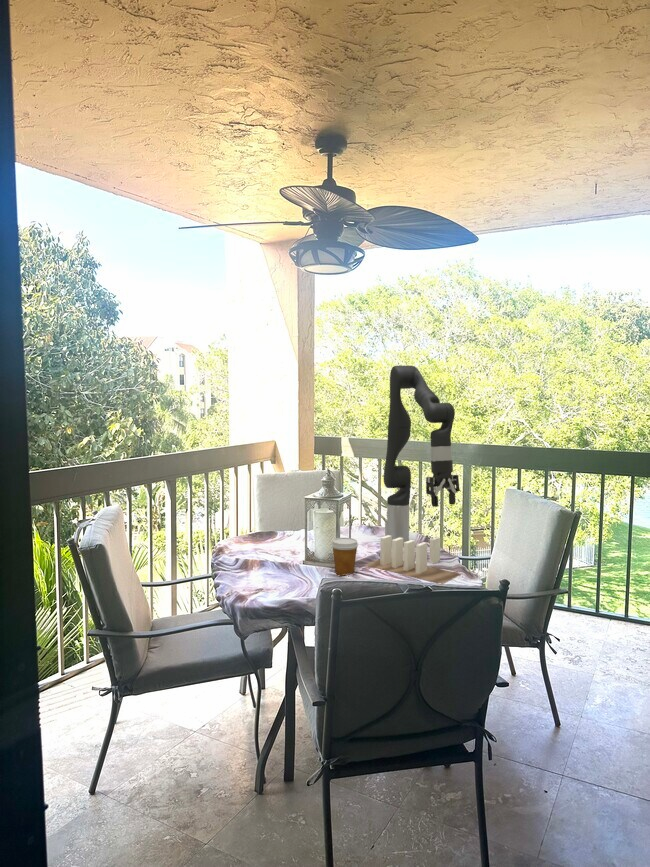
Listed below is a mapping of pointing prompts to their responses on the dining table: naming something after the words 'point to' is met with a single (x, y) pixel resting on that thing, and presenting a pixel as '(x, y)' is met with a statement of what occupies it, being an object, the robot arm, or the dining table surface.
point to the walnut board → (429, 575)
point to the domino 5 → (434, 550)
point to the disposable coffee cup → (344, 555)
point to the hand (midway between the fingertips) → (443, 505)
